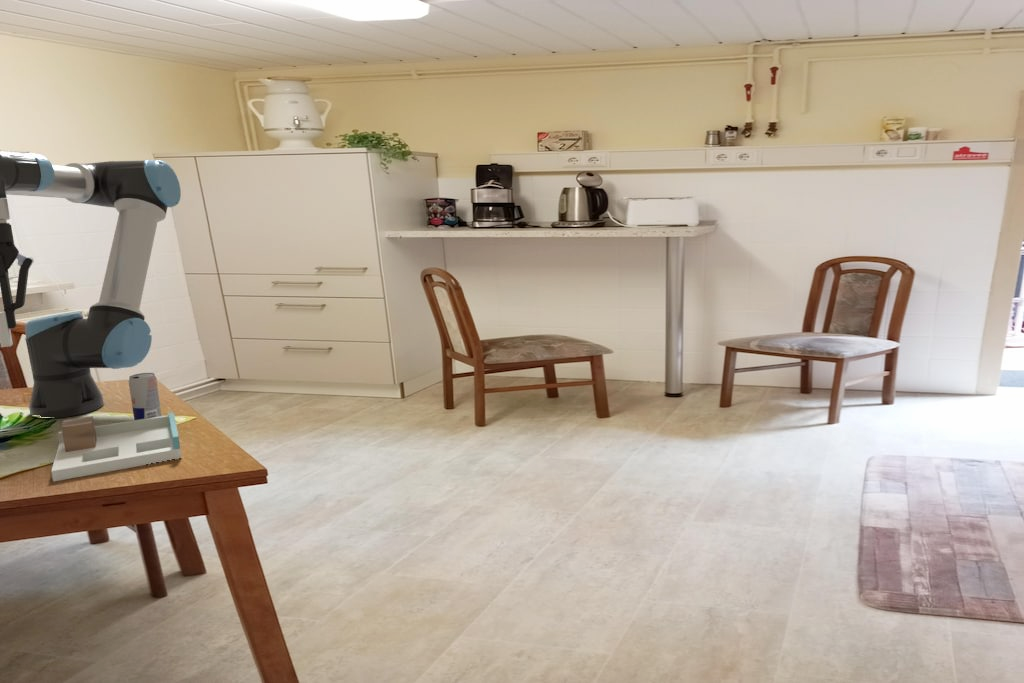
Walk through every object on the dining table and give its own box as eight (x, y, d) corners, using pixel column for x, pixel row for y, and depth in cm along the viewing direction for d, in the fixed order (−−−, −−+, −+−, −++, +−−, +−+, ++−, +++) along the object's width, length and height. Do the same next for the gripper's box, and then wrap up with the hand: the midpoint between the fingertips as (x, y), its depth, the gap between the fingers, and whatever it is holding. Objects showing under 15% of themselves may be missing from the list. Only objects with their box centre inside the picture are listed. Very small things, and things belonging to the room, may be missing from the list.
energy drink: (137, 426, 154) (130, 374, 152) (164, 423, 156) (157, 371, 153) (134, 433, 149) (126, 379, 147) (161, 430, 151) (154, 377, 148)
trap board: (61, 450, 140) (57, 429, 139) (176, 431, 150) (173, 411, 149) (53, 481, 124) (48, 458, 124) (181, 458, 134) (178, 436, 133)
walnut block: (67, 444, 138) (63, 420, 137) (96, 439, 140) (92, 416, 139) (65, 452, 133) (61, 427, 132) (95, 447, 136) (91, 422, 135)
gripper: (-64, 223, 124) (-40, 353, 128) (25, 221, 129) (44, 345, 134) (-53, 223, 130) (-31, 346, 135) (30, 220, 136) (49, 338, 141)
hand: (7, 345), depth 134 cm, fingers closed
